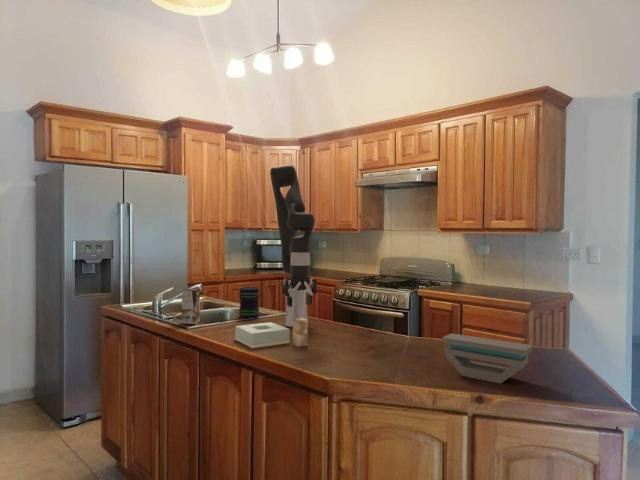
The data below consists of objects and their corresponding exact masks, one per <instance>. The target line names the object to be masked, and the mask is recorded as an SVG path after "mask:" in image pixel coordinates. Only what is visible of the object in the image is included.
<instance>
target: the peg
mask: <svg viewBox="0 0 640 480" xmlns="http://www.w3.org/2000/svg"><path fill="white" fill-rule="evenodd" d="M308 323H309V321H308V318H307V319H304V318H298V319H293V327H292V345H293V346H295V347H297V348H299V347H307V346H308V342H309V341H308V339H309V338H308V329H309V326H308V325H309V324H308Z"/></svg>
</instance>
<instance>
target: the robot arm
mask: <svg viewBox="0 0 640 480" xmlns="http://www.w3.org/2000/svg"><path fill="white" fill-rule="evenodd" d="M269 174H270V175H269V176H270V181H271V185H272V191H273V196H274V200H275V201H274V202H275V209H276V219H277V226H278V232H279V233H278V234H279V237H280V247H281V248H280V249H281V262H282V269H283V272H284V273H285V274H287V275H289V276H290V279H283V280H282V289H281V290H282V292H281V294H282V295H283V296H285V327H289V328H293V319H298V318H304V319H307V320H308V306H312V304H313V296H314V295H316V294H317V293H318V287H317V286H318V283H317V279H316V278H313V277H311V278H310V275H311V273H310V272H311V271H310V270H311V256H310V243H311V236H312V233H313V230H314V226H315V217H314V215H313V214H312V213H311V212H306V208H305V207H306V206H305V203H304V201H303V197H302V195H301V191H300V190H301V188H300V183H299V179H298V174H297V170H296V168H295V167H294V165H293V164H285V165H284V164H283V165H278V166H272V167H271V168H270V173H269ZM286 187H289V189H288V191H287V193H286V194H285V197H284V195H283V193H282V191H281V188H286ZM299 231H303V233H302V234H301V235H300V236H299V235H298V236H297V234H298V232H299ZM309 285H310V286H309ZM306 294H307V295H306Z"/></svg>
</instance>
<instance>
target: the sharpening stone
mask: <svg viewBox="0 0 640 480" xmlns="http://www.w3.org/2000/svg"><path fill="white" fill-rule="evenodd" d="M441 343H444V344H448V345H450V346H447V347H445V348H444V355H445V357H446V358H447V359H448V361H449V362H450V363H451V365H453V366H454V368H455V369H456V370H457V372H458V373H459V374H460V375H461V376H462V377H466V376H467V377H466V378H472V379H475V378H476V379H477V380H480V379H481V380H482V381H485V380H486V382H491V383H496V384H502V383H504V382H505V381H506V380H508V379H509V378H510V377H512V376H513V375H515V374H516V373H518V372H519V371H520V370H522V369H523V368H524V367H525V366H526V365H527V364H529V354H530V353H531V352H532V351H533V344H526V343H519V342H513V341H504V340H498V339H491V338H484V337H478V336H473V335H465V334H464V335H463V334H459V333H449V334H447V335H445V336H443V337H441ZM471 359H473V360H479V361H484V362H485V361H486V362H491V363H496V364H500V366H499V365H495V364H488V363H484V362H483V363H482V362H478V361H472V360H471ZM501 364H502V365H507V366H508V367H505V366H501ZM476 379H475V380H476Z"/></svg>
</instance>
